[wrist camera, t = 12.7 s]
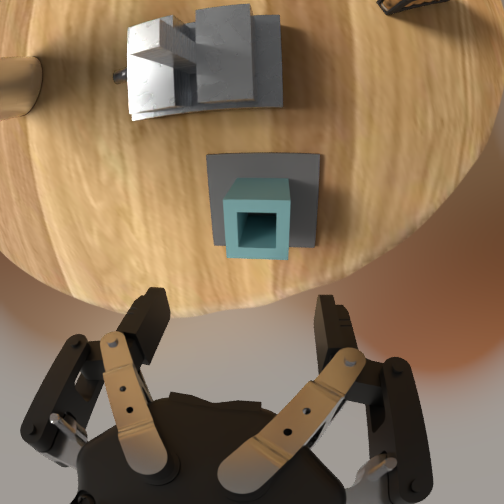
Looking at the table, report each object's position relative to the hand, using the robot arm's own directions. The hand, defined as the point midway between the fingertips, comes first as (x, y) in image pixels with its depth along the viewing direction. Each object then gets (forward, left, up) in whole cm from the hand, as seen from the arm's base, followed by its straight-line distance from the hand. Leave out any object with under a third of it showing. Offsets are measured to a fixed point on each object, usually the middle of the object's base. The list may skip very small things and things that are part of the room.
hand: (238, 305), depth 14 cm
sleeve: (0, 0, -16) cm, 16 cm away
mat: (0, 0, -16) cm, 16 cm away
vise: (-5, +14, -16) cm, 22 cm away
